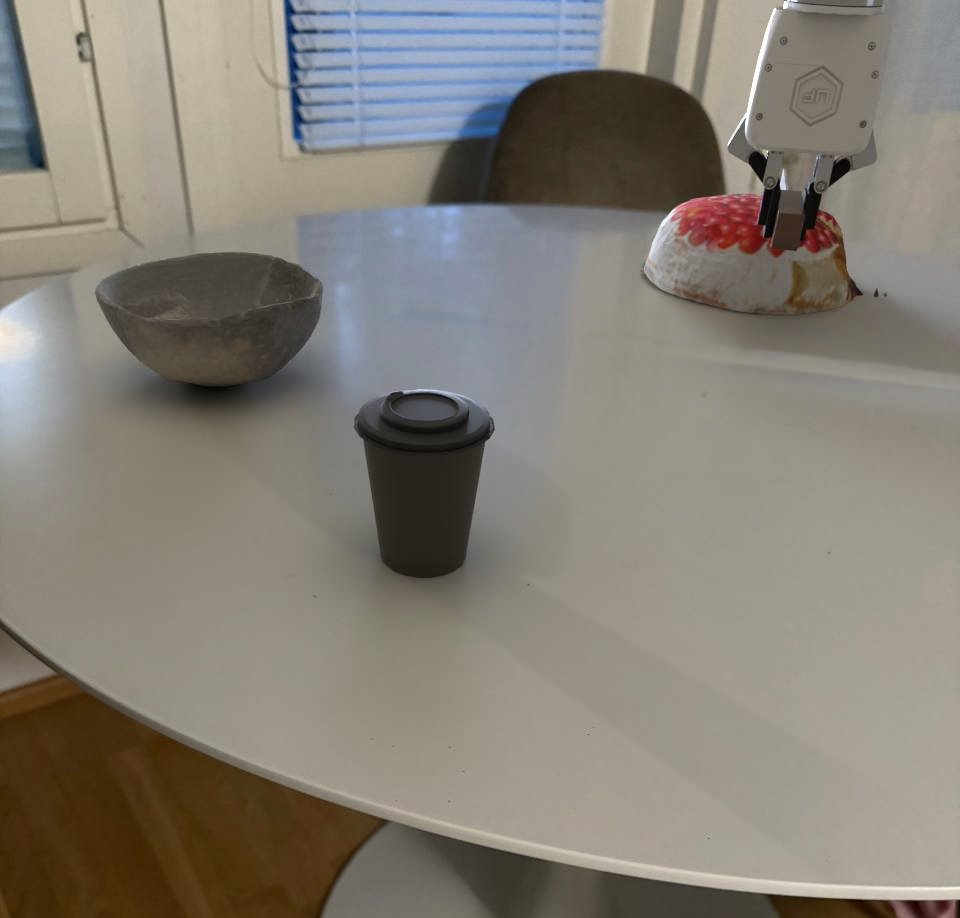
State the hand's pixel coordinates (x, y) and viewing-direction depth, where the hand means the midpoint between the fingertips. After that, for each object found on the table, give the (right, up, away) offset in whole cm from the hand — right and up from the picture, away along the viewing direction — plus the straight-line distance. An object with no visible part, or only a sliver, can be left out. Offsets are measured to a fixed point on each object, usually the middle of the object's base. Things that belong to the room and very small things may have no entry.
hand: (783, 234), depth 86 cm
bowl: (-49, -14, -4) cm, 51 cm away
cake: (+3, +2, +20) cm, 20 cm away
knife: (+1, +2, +3) cm, 4 cm away
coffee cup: (-31, -31, -26) cm, 51 cm away
